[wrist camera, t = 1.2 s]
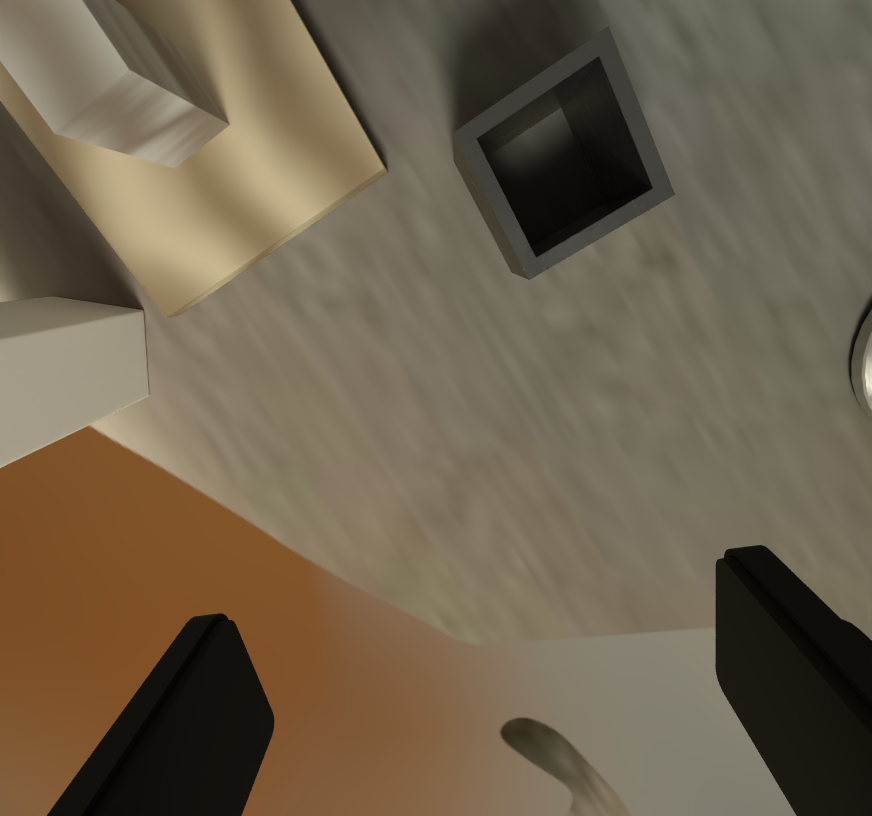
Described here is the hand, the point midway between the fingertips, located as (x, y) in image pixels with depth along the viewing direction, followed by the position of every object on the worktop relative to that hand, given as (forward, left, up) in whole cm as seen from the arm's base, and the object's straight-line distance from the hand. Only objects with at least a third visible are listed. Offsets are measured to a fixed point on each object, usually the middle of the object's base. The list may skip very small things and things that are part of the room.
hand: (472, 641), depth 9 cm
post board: (+6, -20, -22) cm, 30 cm away
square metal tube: (-9, -7, -22) cm, 25 cm away
